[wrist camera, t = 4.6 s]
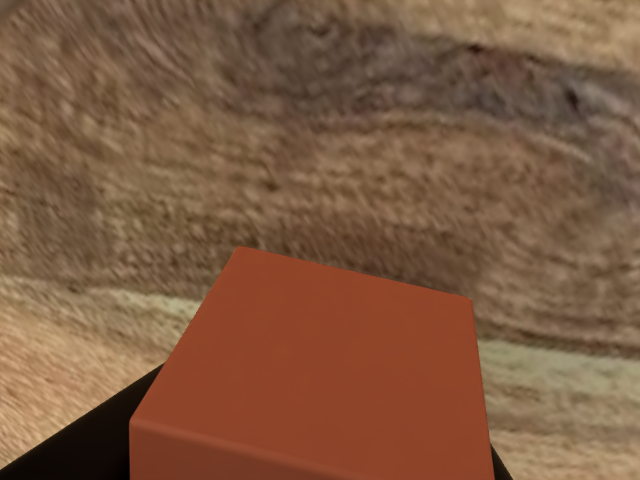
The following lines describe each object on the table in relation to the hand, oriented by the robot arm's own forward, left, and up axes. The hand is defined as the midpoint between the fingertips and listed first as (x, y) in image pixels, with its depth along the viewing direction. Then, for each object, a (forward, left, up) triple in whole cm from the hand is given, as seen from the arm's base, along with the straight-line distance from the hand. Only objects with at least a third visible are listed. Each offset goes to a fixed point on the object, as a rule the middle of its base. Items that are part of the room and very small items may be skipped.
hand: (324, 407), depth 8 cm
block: (0, 0, -1) cm, 1 cm away
